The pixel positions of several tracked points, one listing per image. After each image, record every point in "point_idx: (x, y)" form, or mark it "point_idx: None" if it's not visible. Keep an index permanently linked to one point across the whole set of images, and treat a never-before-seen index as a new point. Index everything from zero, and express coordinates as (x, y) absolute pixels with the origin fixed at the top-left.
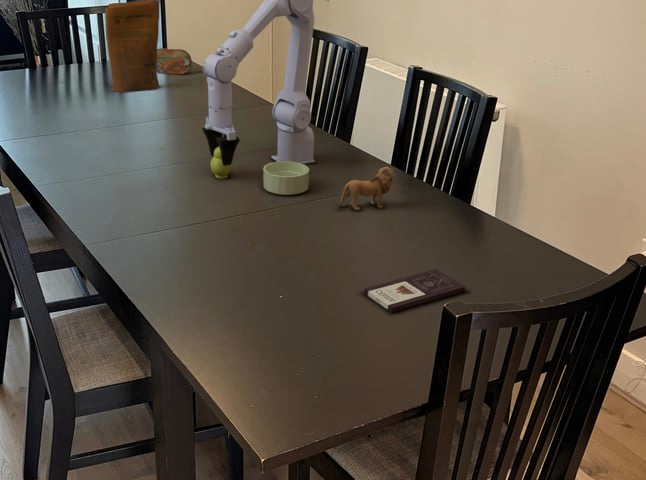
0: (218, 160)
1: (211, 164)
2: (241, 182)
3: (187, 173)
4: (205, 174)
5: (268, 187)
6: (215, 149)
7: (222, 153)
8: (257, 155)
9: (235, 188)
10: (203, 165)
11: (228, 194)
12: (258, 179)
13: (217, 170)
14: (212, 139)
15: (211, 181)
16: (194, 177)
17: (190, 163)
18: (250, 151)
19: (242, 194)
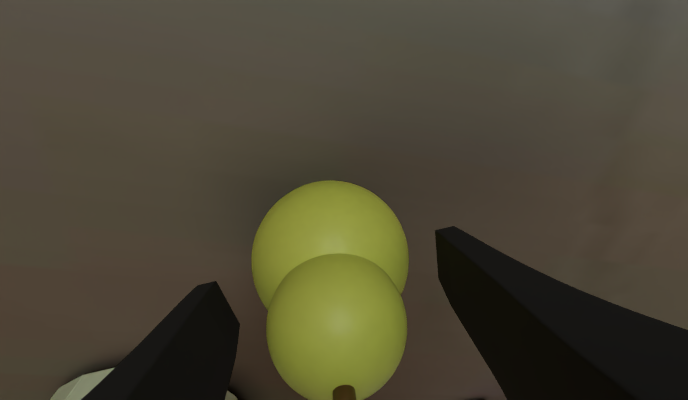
0: (272, 269)
1: (312, 197)
2: (229, 290)
3: (433, 4)
4: (381, 132)
5: (64, 395)
6: (342, 319)
7: (90, 392)
8: None
9: (133, 257)
10: (533, 145)
11: (18, 212)
12: (266, 349)
13: (265, 216)
14: (541, 369)
15: (250, 149)
16: (340, 45)
17: (606, 68)
18: None
19: (39, 277)
